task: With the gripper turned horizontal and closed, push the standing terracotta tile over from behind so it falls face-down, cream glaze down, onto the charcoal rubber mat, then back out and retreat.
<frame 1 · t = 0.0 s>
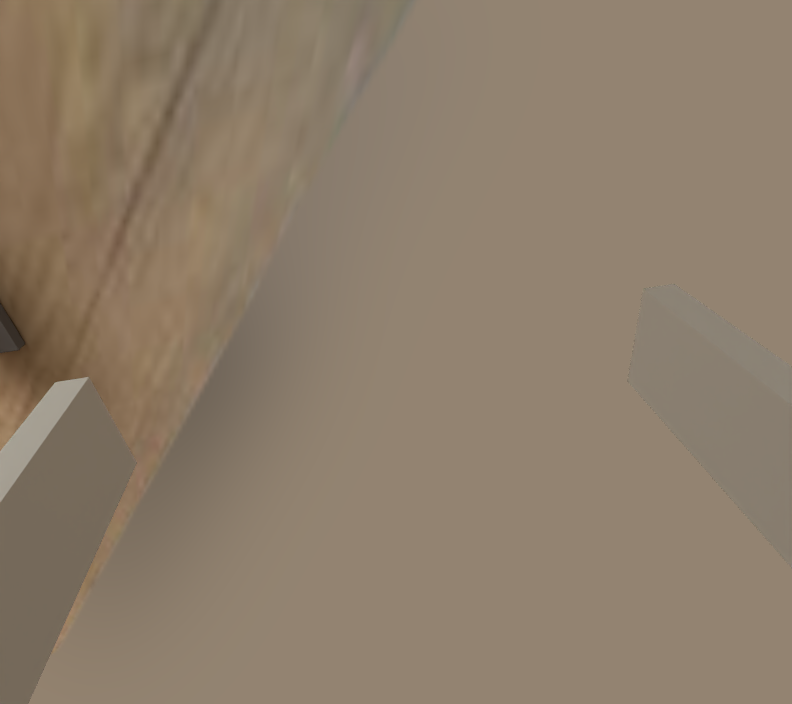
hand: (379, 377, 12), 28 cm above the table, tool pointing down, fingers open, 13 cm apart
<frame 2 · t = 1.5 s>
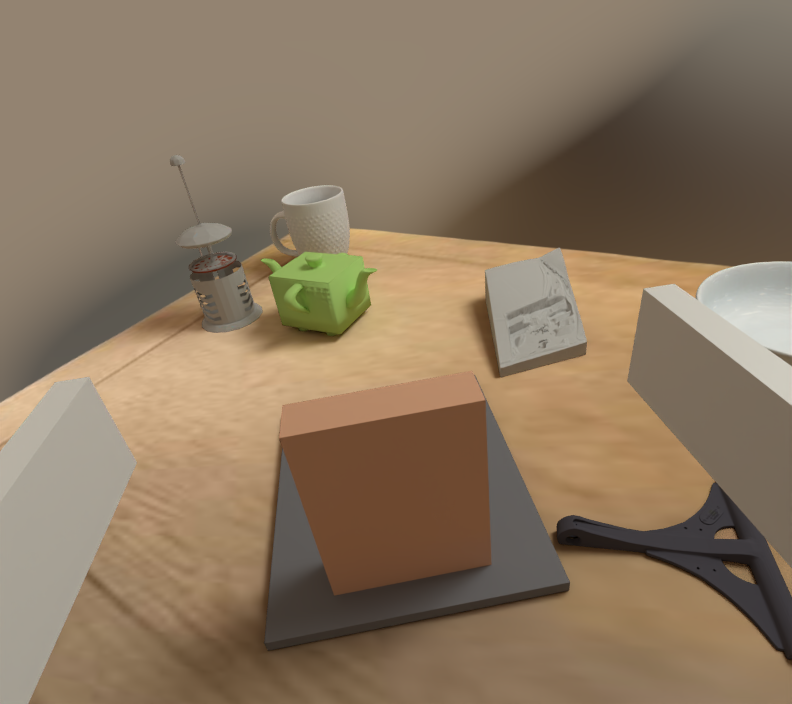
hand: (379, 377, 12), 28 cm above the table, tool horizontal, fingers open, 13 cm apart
teapot: (329, 322, 75), on the table
ramp: (532, 323, 68), on the table
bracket: (657, 552, 38), on the table
mug: (322, 264, 94), on the table
tile: (410, 562, 38), point 1 cm above the table, touching mat
french press: (231, 315, 81), on the table
mat: (396, 483, 46), on the table
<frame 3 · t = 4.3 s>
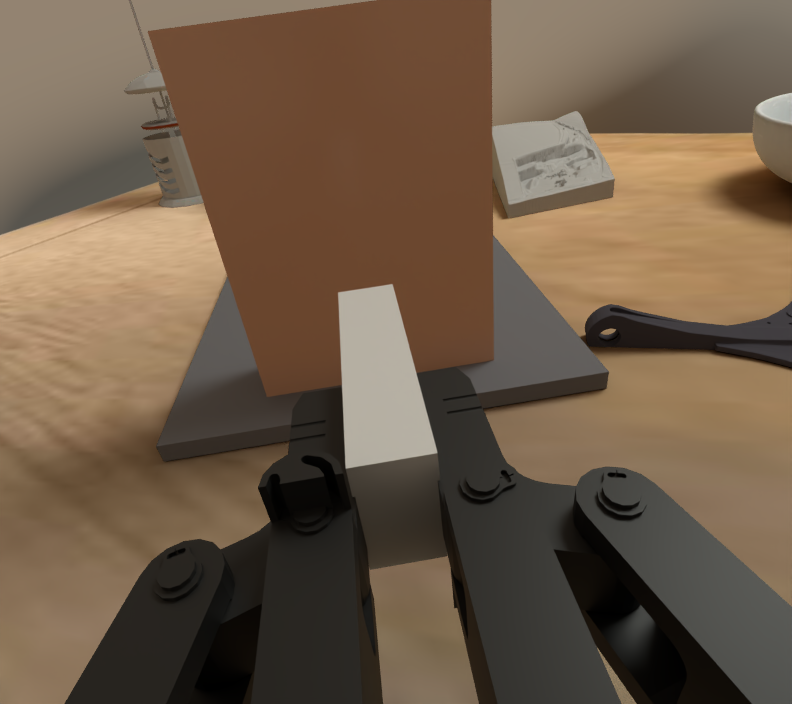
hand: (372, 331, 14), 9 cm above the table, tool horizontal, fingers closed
ramp: (545, 183, 57), on the table
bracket: (728, 355, 27), on the table
tile: (378, 362, 27), point 1 cm above the table, touching mat
french press: (194, 196, 70), on the table
mat: (369, 304, 35), on the table
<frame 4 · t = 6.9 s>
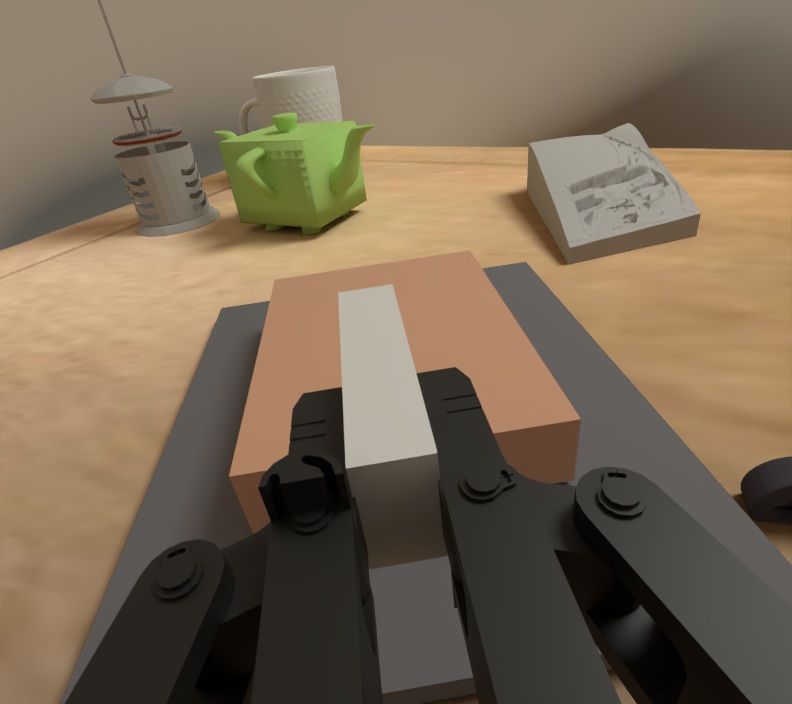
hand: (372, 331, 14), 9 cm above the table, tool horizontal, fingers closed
teapot: (307, 223, 53), on the table
ramp: (599, 212, 47), on the table
mug: (306, 175, 73), on the table
tile: (411, 478, 17), point 3 cm above the table, tilted 90°, touching mat
french press: (178, 221, 60), on the table
mat: (397, 410, 25), on the table
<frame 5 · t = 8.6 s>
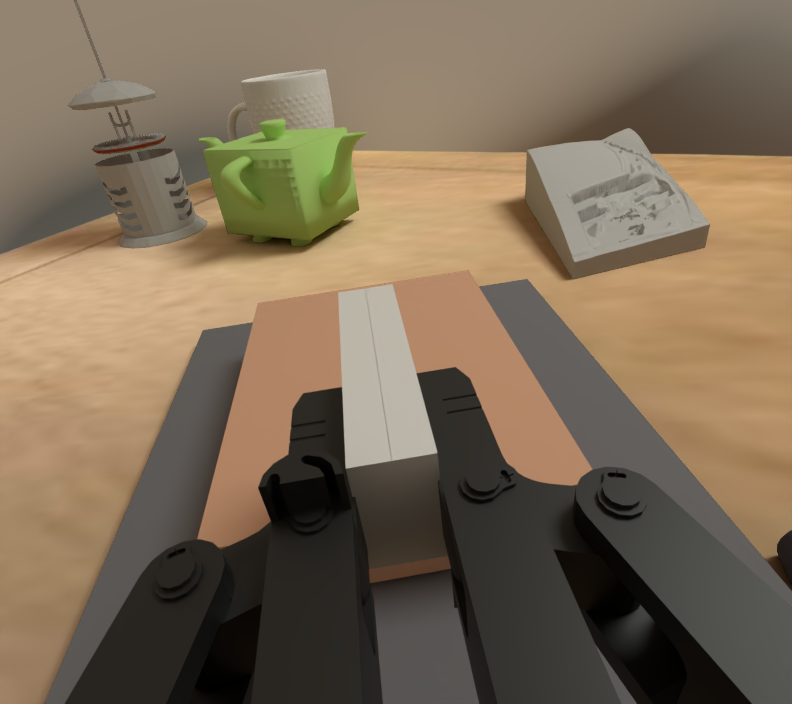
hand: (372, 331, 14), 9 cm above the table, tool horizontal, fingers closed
teapot: (297, 233, 51), on the table
ramp: (601, 221, 45), on the table
mug: (298, 181, 70), on the table
tile: (405, 547, 15), point 3 cm above the table, tilted 90°, touching mat
french press: (163, 231, 57), on the table
mat: (390, 450, 23), on the table
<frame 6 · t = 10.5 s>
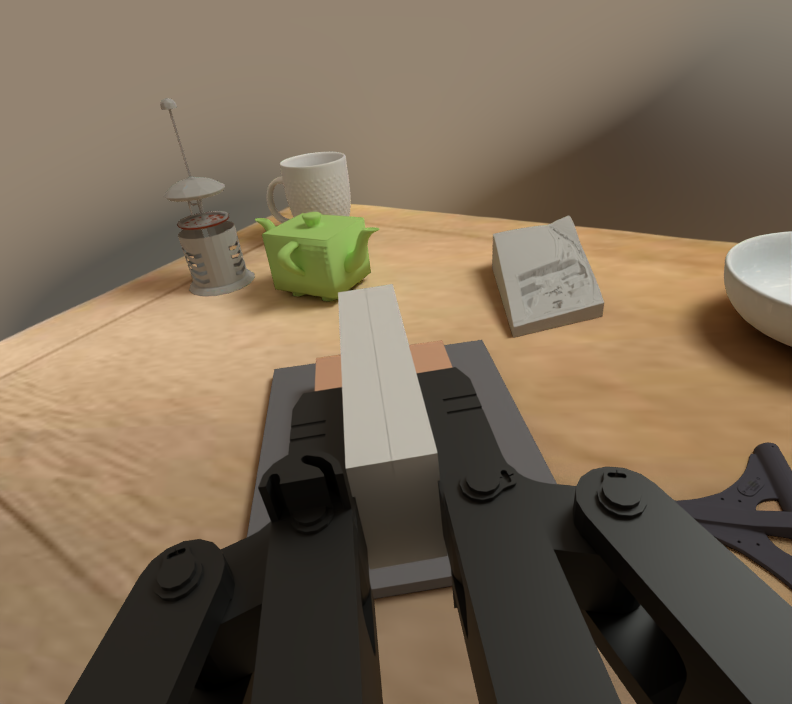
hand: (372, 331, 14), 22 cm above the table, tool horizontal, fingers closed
teapot: (325, 289, 70), on the table
ramp: (543, 289, 65), on the table
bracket: (689, 525, 34), on the table
mug: (320, 236, 89), on the table
tile: (402, 489, 34), point 3 cm above the table, tilted 90°, touching mat
french press: (221, 280, 76), on the table
mat: (394, 446, 41), on the table
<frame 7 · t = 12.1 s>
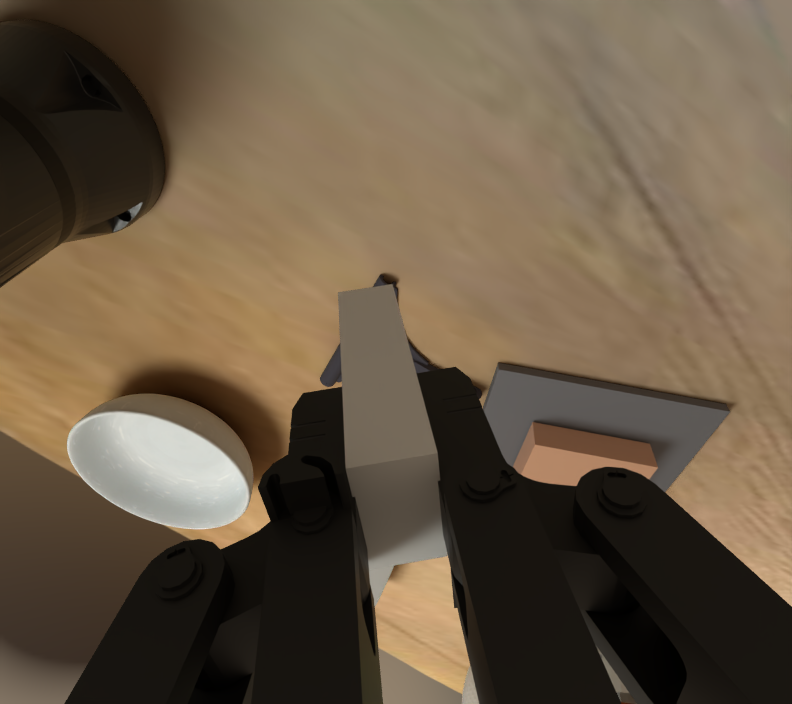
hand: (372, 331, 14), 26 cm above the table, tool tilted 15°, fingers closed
ramp: (353, 541, 73), on the table
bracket: (414, 357, 50), on the table
serving bowl: (187, 431, 61), on the table
mug: (497, 660, 92), on the table
tile: (593, 444, 49), point 3 cm above the table, tilted 90°, touching mat
french press: (609, 644, 82), on the table
mat: (565, 466, 56), on the table
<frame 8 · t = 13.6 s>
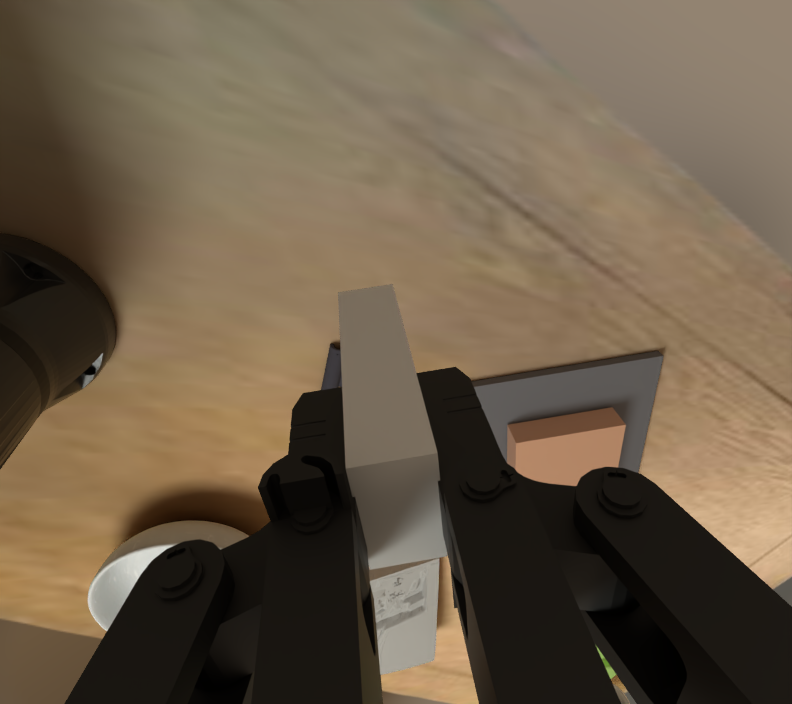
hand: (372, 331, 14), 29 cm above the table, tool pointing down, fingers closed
ramp: (392, 602, 74), on the table
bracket: (385, 405, 54), on the table
serving bowl: (200, 551, 62), on the table
tile: (565, 424, 54), point 3 cm above the table, tilted 90°, touching mat
mat: (552, 454, 60), on the table
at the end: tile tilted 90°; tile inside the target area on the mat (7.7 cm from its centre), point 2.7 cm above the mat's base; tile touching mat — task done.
